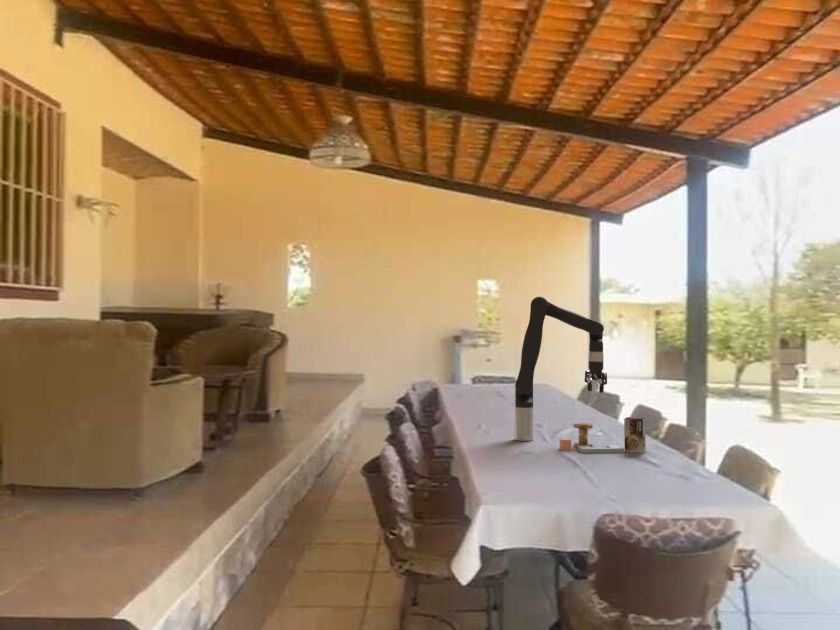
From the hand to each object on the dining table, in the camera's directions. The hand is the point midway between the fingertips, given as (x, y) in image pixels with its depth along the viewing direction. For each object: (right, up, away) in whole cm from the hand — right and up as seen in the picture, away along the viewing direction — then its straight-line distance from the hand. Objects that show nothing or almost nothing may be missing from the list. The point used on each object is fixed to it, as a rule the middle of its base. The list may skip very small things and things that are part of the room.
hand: (595, 391), depth 450 cm
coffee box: (+12, -26, -33) cm, 44 cm away
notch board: (-4, -26, -32) cm, 41 cm away
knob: (-10, -26, -17) cm, 32 cm away
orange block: (-20, -26, -26) cm, 41 cm away
